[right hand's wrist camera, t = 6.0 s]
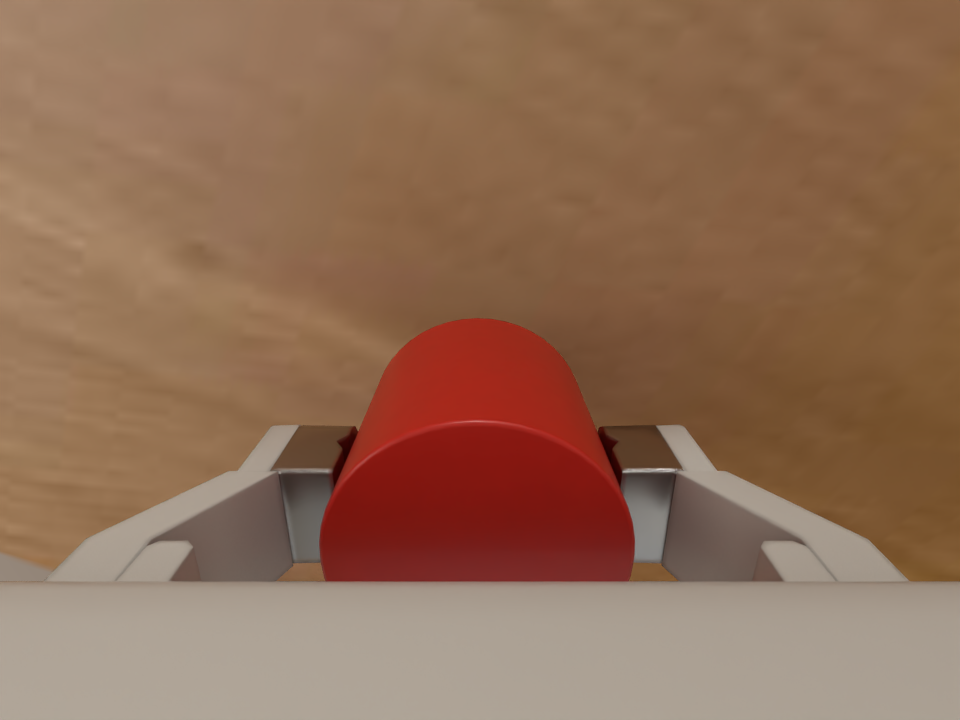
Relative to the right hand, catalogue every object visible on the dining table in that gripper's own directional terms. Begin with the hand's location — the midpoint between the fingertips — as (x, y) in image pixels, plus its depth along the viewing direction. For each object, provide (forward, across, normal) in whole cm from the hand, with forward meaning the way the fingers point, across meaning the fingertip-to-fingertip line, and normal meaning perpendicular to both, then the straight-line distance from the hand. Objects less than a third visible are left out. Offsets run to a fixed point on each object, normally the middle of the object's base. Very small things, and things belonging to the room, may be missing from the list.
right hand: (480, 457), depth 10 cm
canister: (+2, 0, 0) cm, 2 cm away
